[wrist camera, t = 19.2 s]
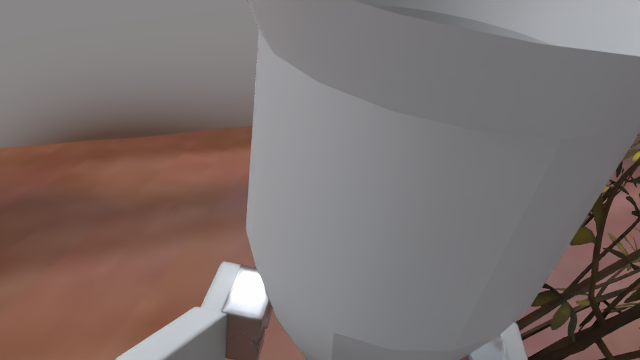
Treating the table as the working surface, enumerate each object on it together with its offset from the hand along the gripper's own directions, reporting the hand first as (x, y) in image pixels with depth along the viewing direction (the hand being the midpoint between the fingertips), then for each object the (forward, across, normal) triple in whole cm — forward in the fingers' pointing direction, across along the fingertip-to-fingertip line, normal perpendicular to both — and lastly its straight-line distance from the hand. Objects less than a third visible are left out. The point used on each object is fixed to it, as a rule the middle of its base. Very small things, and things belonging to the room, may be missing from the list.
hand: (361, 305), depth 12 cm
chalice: (-1, 0, +10) cm, 10 cm away
